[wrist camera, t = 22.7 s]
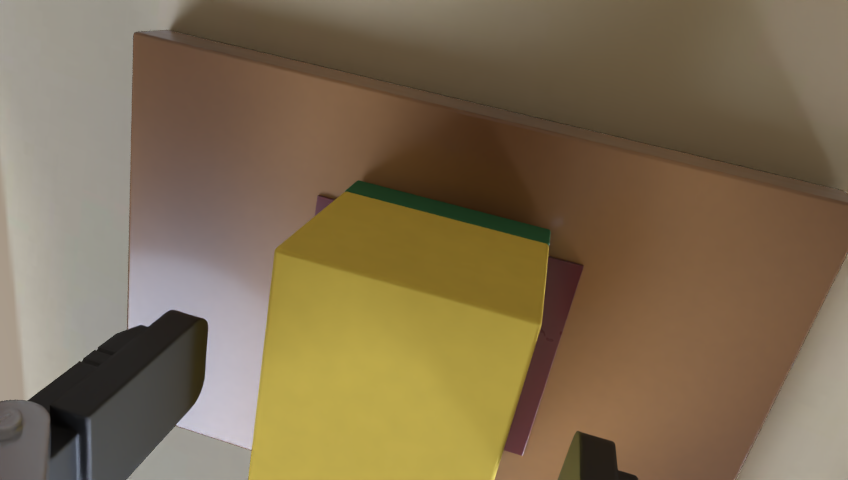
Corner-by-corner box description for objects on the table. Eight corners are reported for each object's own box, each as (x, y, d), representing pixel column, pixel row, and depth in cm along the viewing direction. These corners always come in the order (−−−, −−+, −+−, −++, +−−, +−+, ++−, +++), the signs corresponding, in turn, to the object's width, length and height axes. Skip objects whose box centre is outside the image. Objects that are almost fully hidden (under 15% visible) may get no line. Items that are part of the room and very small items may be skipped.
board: (151, 385, 22) (121, 412, 21) (166, 29, 18) (129, 31, 16) (674, 551, 20) (682, 594, 18) (845, 190, 15) (874, 210, 14)
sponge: (357, 179, 16) (272, 247, 12) (551, 229, 16) (543, 322, 11) (318, 416, 19) (239, 546, 14) (481, 467, 18) (451, 620, 14)
